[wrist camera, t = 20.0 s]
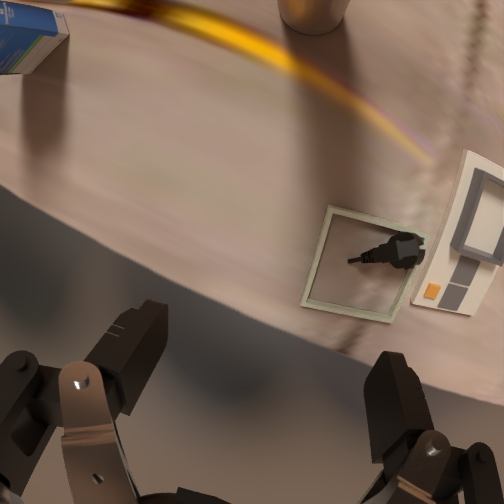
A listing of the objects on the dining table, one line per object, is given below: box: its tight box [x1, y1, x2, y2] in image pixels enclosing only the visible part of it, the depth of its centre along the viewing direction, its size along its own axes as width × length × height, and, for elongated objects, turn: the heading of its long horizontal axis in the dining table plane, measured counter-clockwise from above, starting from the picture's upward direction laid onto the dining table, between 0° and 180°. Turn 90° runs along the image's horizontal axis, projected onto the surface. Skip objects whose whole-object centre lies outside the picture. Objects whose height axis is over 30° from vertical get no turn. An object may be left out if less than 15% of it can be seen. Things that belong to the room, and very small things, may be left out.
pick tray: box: [300, 204, 430, 323], centre depth 47 cm, size 18×18×2 cm
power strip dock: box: [410, 149, 504, 316], centre depth 40 cm, size 28×16×4 cm, turn 170°
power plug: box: [348, 231, 425, 270], centre depth 44 cm, size 6×8×12 cm
